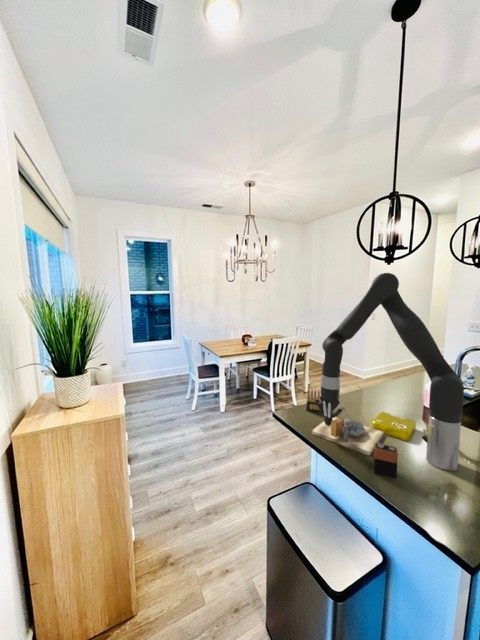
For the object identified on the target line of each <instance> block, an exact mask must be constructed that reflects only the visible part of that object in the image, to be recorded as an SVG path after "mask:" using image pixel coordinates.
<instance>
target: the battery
mask: <svg viewBox="0 0 480 640" xmlns="http://www.w3.org/2000/svg"><path fill="white" fill-rule="evenodd" d="M397 449H398V448H397V447H395V446H394V445H387V444H384V443H382V442H379V443H378V444H377V443H375V447H374V450H373V472H374V474H375V475H380V476H383V477H387V478H391V479H397V476H398V475H397V474H398V458H399V457H398V456H399V453H398V450H397Z"/></svg>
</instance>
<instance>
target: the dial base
mask: <svg viewBox="0 0 480 640" xmlns="http://www.w3.org/2000/svg"><path fill="white" fill-rule="evenodd" d="M337 418H339V419H341V418H340V417H337V416H336V417H334V418H332V421H333V420H335V419H337ZM344 419H345V420H344V435H343V434H341V435H339V436H338V437H334V436H332V435H331V425H329V426H328V425H326V424H325V422H324V421H323V422H321V423H320V424H318V425H317V426H316V427H315V428H313V429H312V430H311V434H312V435H314V436H316V437H319V438H322V439H324V440H326V441H329V442H332V443H334V444H338V445H340V446H343V447H345V448H347V449H351V450H353V451H356V452H359V453H362V454H364V455H367V456H368V457H369V456H371V454H372V452H374V447H375V443H377V444H378V443H380V441H381V440H382V439H383V437H384V435H385V434H384V432H382V431H379V430H376V429H372V427H370V426H369V427H368V426H367V425H363V427H364V428H365V433H363V434H362V435H360V436H348V428H352V421H351V420H352V419H351V418H344ZM350 419H351V420H350Z"/></svg>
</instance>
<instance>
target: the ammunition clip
mask: <svg viewBox="0 0 480 640" xmlns="http://www.w3.org/2000/svg"><path fill="white" fill-rule="evenodd" d="M320 396H321V390H320V389H318V390H316V389H314V390H313V388H311V391H310V388H307V393H306V407H305V408H306V412H312V413H319V414H322V413H321V412H320V410H319V408H318V406H317V404H316V402H315V400H317V399H320Z"/></svg>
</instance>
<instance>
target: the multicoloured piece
mask: <svg viewBox="0 0 480 640" xmlns="http://www.w3.org/2000/svg"><path fill="white" fill-rule="evenodd" d="M339 418H340V417H337V419H335V420H333V421H331V435H332V436H334V437H338V436H339V435H341V434H343V435H344V420H345V419H346V418H340V419H339ZM349 419H350V420H351V421H352V428H348V436H360V435H362V434H363V433H365V428H364V427H363V426H364V424H362V423H361V422H358V421H356V420H354V419H351V418H349Z"/></svg>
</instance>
